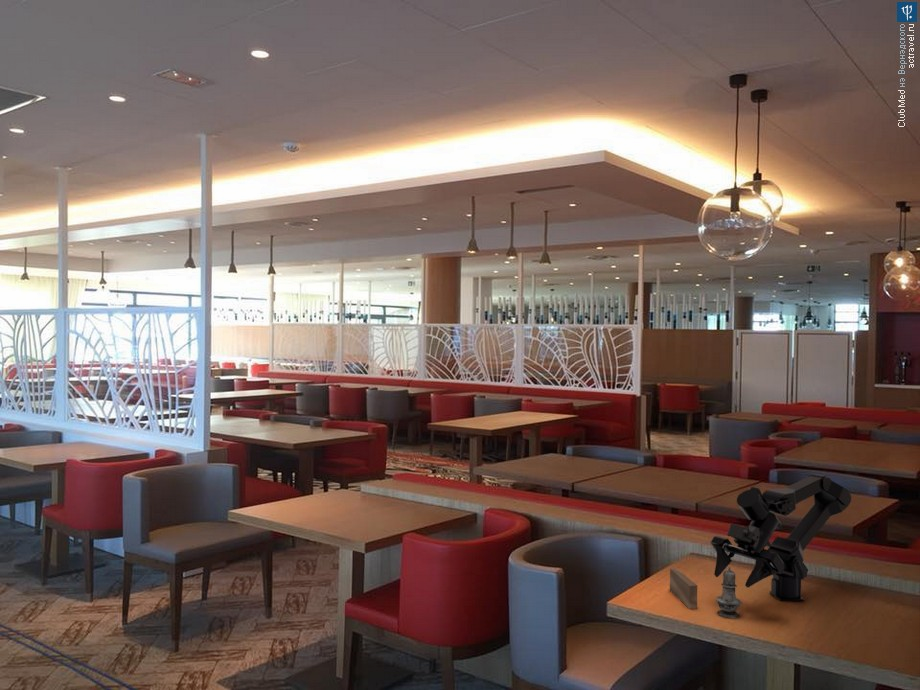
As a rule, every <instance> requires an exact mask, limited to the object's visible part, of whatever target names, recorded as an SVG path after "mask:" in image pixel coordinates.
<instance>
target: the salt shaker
mask: <svg viewBox="0 0 920 690" xmlns="http://www.w3.org/2000/svg"><path fill="white" fill-rule="evenodd" d="M737 585H738V584H736V573H735V572H734V571H733V570H732V568H731V567H730V566H728V568H727V569H725V570H724V571H723V572H722V583H721V586H722V593H721V595H720V596H717V597H716V601H717V606H718V607H719V608H720V610H718V611H717V613H718V614H719V615H718V614H717V615H718V616H720V617H722V618H725V619H737V618H739V617H740V616H741V615H740V613H739V612H737V610H739V609H740V606H741V604H742V600H740V598H737V596H736V588H737Z"/></svg>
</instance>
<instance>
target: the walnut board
mask: <svg viewBox="0 0 920 690" xmlns="http://www.w3.org/2000/svg"><path fill="white" fill-rule="evenodd" d="M669 591H670V592H671V593H672V594H673V595H674V596H675V597H676V598H677V599H678V600H679V599H680V600H679V601H680V602H681V601H682V602H683V603H682V602H681V603H682V604H683V605H685V607H687V609H689V610H698V584H697V583H695V582H694V581H693V580H691V578H689V577H688V576H687V575H686V574H685V573H683V572H682V571H681V570H680V569H679V568H669Z"/></svg>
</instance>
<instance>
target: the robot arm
mask: <svg viewBox="0 0 920 690" xmlns="http://www.w3.org/2000/svg"><path fill="white" fill-rule="evenodd" d="M811 497H813V501H814V503H813V505H812V506H811V508H810V509H809V510H808V511H807V513H806V514H805V515H804V516H803V518H802V519H801V520H800V521H799V522H798V524H797V525H796V526H795V527H794V529H793V530H792V531H791V532H790V534H788V536H787V537H782V536H776V537H775V538H774V540H772V542H770V541H769V540H770V539H771V537H772V535H773V534H774V532H775V530H776V529H777V530H782V529H783V525H782V523H781V518H778V517H777V516H776V515H781V516H786V517H787V516H789V515H790V514H791V513H793V512H794V511H795V510H796V509H797V504H799V503H801V502H803V501H805V500H807V499H809V498H811ZM851 502H852V495H851V493H850V492H849V490H848V489H847V488H845V487H844V486H843V485H841V484H839V483H836V482H835V481H833V480H832V479H831V478H830V477H829V476H826V475H824V474H823V475H821V474H818V473H817V474H816V473H812V474H811V473H810V474H809V475H808V476H807V477H805V478H803V479H801V480H798V481H797V482H795V483H793V484H791V485H787V487H783V488H777V487H776V488H775V487H774V488H770V489H766V490H765V491H763V493H762V491H761V490H760V488H759V487H754V486H751V487H750V489H746V490H744V491H742V492H740V494H738V495H737V497H736V503H737V505H738V506H739V508H740V509H741V512H743V514H744V515H745V516H746V518H747V519H748V520H750V521H751V522H750V523H749V525H748V526H746V525H744V526H742V525H739V524H735V523H730V525H729V527H728V530H727V533H726V534H727V535H726V536H728V537H731V538H732V539H733V538H734V539H733V542H734V543H735V544H736V545H737V546H736V545H733V543H732V542H731V541H730V540H729V538H727V537H722V536H719V535H714V536H713V537H712V539H711V541H710V542H709V544H710V545H711V546H712V548H713V549H714V550H715V552H716V561H715V568H714V574H713V575H714V576H715V577H716V578H718V577H719V576H721V574H723V573H724V571H726V569H727V567H729V565H730V564H731V563H732V558H734V556H735V555H738V556H741V557H744V558H748V559H751V560H754V561H755V563H754V567H753V569H752V570H751V572H750V574H749V576H748V578H747V580H746V581H745V585H744V586H745V588H750V587H752V586H754V585H755V584H757V583H758V582H761V581H762V580H765V579H767V578H768V577H770V576H772V578H771V579H770V580H771V581H770V584H771V587H770V588H771V589H770V591H769V594H770V595H771V596H773V597H774V598H776V599H777V600H779V601H780V602H804V601H805V598H803V597H802V580H805V578H807V576H808V572H809V569H808V567H807V566H806V565H805V563H804V560H805V559H804V557H805V556H804V551H805V549H806V548H807V547H808V545H809V544H810V543H811V541H812V540H813V539H814V537H815V536H816V535H817V534H818V532H820V530H821V529H822V528H823V526H824V525H825V524H826V522H827V521H828V520H829V519H830V518H831V517H833V516H835V515H838V514H841V513H842V512H844V511H845V510H846V509H847V508H848V507H849V506H850V504H851ZM766 547H768V549H766Z"/></svg>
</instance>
